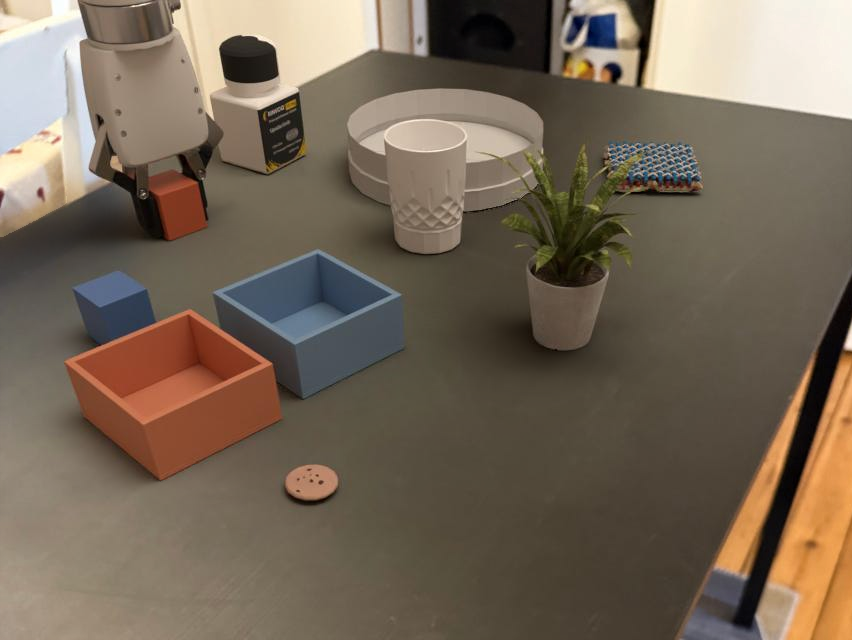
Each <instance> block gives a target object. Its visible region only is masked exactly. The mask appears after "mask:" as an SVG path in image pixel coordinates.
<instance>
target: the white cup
mask: <svg viewBox="0 0 852 640" xmlns="http://www.w3.org/2000/svg"><path fill="white" fill-rule="evenodd" d="M383 137H384V146H385V156H386V166H387V176H388V186H389V193H390V202H391V206H390V209H391V213H392V217H393V218H392V220H393V230H394V231H393V232H394V240H395V242H396V243H397V244H398V246H399V247H400V248H402V249H403V250H406V251H407V252H410V253H416V254H422V255H435V254H437V255H438V254H442V253H445V252H449V251H452V250H454V249H455V248H456V247H457V246H459V244H460V243H461V240H462V233H463V232H462V231H463V230H462V228H463V215H464V213H463V211H464V195H465V180H466V154H467V133H466V131H465V130H464V129H463V128H462V127H460V126H458V125H456V124H453V123H450V122H447V121H442V120H433V119H418V120H409V121H404V122H400V123H397V124H395V125H393V126H391V127H389V128H388V129H387V130H386V131H385V132H384V136H383Z"/></svg>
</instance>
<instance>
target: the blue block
mask: <svg viewBox="0 0 852 640" xmlns="http://www.w3.org/2000/svg"><path fill="white" fill-rule="evenodd" d="M72 292H73V294H74V297H75V301H76V304H77V307H78V310H79V312H80V315H81V318H82V322H83V325H84V328H85V330H86V333H87V336H88V337H89V338H91V339H92V340H93V341H95V342H96V343H97V344H98V345H100V346H102V345H104V344H107V343H109V342H111V341H114V340H116V339H119V338H121V337H123V336H126V335H128V334H131V333H133V332H136V331H138V330H140V329H143V328H145V327H148V326H150V325H152V324H155V323H157V320H156V318H155V317H156V316H155V313H154V310H153V306H152V302H151V299H150V296H149V295H150V294H149V291H148V289H147V287H145V286H144V285H142V284H141V283H139V282H138V281H136V280H135V279H133V277H130V276H129V275H128V274H126V273H124V272H123V271H121V270H115V271H113V272H111V273H108V274H104V275H102V276H100V277H97V278H95V279H92V280H89V281H86V282H84V283H81V284H79V285H76V286H73V287H72Z"/></svg>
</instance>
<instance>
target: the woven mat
mask: <svg viewBox="0 0 852 640" xmlns="http://www.w3.org/2000/svg"><path fill="white" fill-rule="evenodd" d="M613 143H614V142H613V140H609V144H608V145H606V146H605V147H604V150H605V151H606V152H603V154H602V155H603V156H602V159H603V158H605V159H604V164H605V166H607V165H609V164H611V163H613V162H614V161H615V162H614V163H613V164H611V165H610V166H609V167H608V168H607V169H608V174H607V176H606V177H607V179H608V178H609V177H610V176H611V175H612V173H613V172H614V171H615V170H616V169H617V168H618V167H619V166H620V165H621V164H622V163H624V162H625V161H626V160H627V159H629V158H630V157H632V156H634V155H636V154H639V153H642V152H645V151H648V152H646V153H645V154H644V155H643V156H642V157H641V158H640V159H639V160H638V161H637V162H636V163H635V164H634V165H633V166H632V167H631V168H630V170H629V172H628V174H627V176H626V178H625V180H624V181H623V183H622V184H621V185H620V186H619V187H618V188H617V189H616V190H632V189H634V188H637V187H650V188H646V189H642V190H647V191H648V190H649V191H655V190H658V191H663V190H664V191H691V192H692V191H693V192H699V191H701V190H702V189H703V187H704V186H703V184H701V182H700V180H701V179H702V176H701V175H702V172H700V171H698V170H699V169H700V166H698V165H699V164H698V161H697V156H696V155H694V154H693V153H694V152H695V150H693V148H694V147H692V146H691V147H690V144H689V143H688V144H687V143H686V144H684V145H682V142H681V141H678V142H677V146H676V144H675V143H671V144H670V145H669V144H668V142H667V141H666V142H665V141H664V143H663V144H662V143H657V144H655V143H654V141H650V144H648V142H646V143H643V144H641V141H637V142H636V144H635V143H634V142H630V143H629V145H628V144H627V140H623V141H622V145H621V142H616V143H615V145H614V144H613ZM604 164H603V165H604ZM640 185H643V186H640ZM669 186H673V187H669ZM658 191H657V192H658Z"/></svg>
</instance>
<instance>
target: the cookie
mask: <svg viewBox="0 0 852 640" xmlns="http://www.w3.org/2000/svg"><path fill="white" fill-rule="evenodd" d="M284 487H285V489H286V491H287V493H288V494H290V495H291V497H294V498H295V499H299V500H303V501H319V500H322V499H325V498H327V497H329V496H330V495H332V494H334V492H335V491H336V489H337V488H338V487H339V477H338V476H337V473H336V472H335V471H334V470H332V469H331V468H330V467H328V466H325V465H321V464H306V465H301V466H299V467H297V468H295V469H293V470H291V471H290V472H289V473H288V474H287V476H286V477H285V481H284Z"/></svg>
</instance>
